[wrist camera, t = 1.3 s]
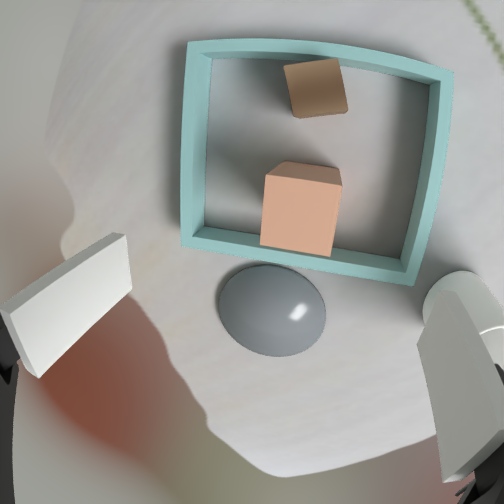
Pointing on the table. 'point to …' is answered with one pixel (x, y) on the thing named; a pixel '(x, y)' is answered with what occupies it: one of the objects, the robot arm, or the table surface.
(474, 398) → the robot arm
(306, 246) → the painted box
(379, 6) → the table surface
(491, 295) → the cup
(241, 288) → the grey dome puck
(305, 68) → the walnut block
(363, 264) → the corral
